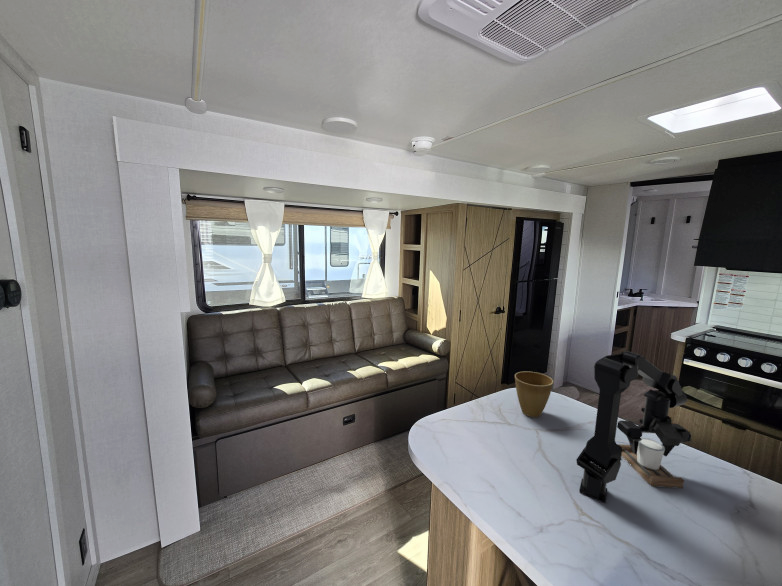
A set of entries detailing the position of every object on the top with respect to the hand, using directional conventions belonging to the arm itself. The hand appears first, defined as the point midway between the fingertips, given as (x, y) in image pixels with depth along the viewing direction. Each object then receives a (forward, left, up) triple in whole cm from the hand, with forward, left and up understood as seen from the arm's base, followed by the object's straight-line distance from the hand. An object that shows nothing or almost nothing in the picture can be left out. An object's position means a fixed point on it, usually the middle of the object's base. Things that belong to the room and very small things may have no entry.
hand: (649, 454), depth 101 cm
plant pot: (+12, +39, -5) cm, 41 cm away
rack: (0, 0, -5) cm, 5 cm away
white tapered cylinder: (0, 0, -3) cm, 3 cm away
